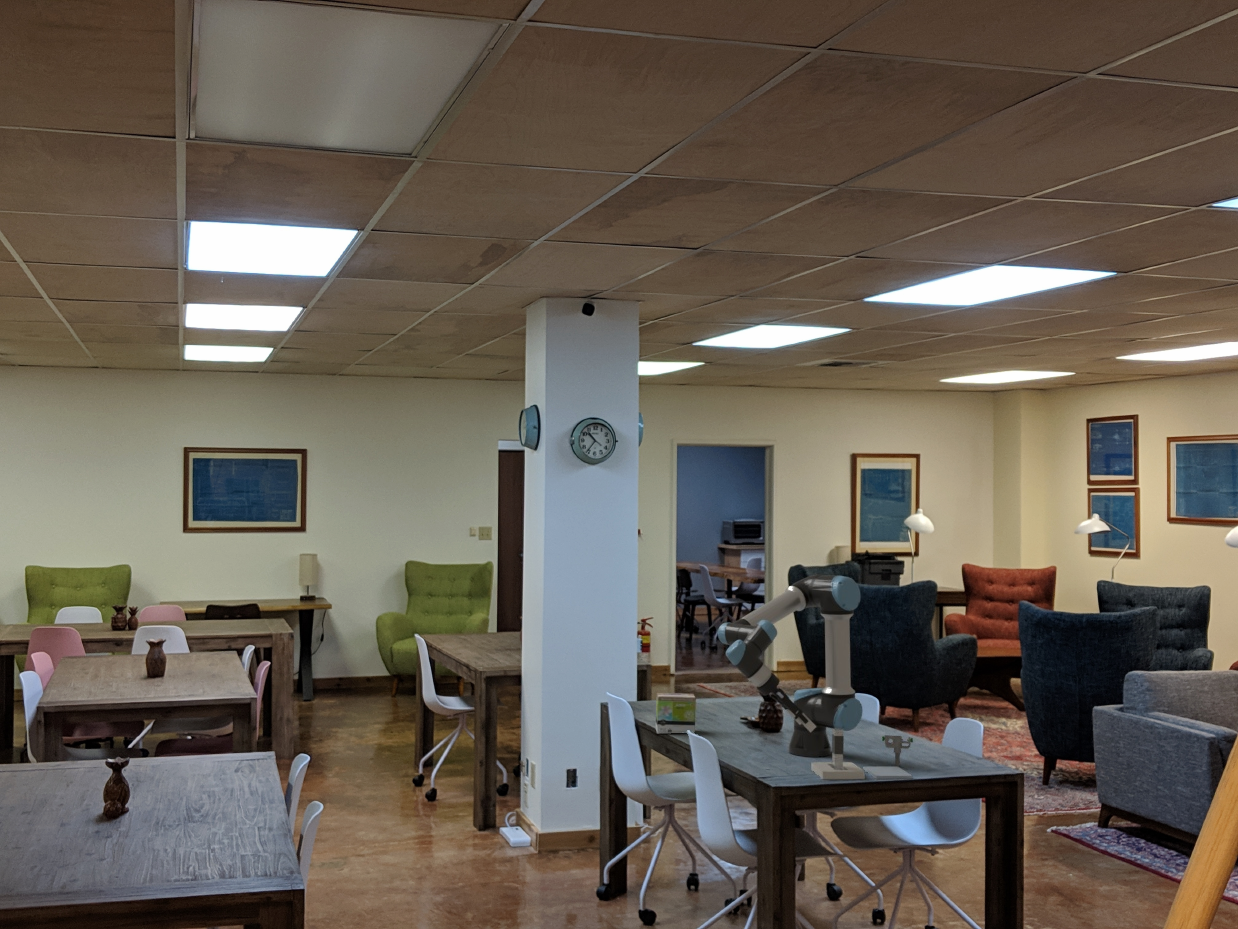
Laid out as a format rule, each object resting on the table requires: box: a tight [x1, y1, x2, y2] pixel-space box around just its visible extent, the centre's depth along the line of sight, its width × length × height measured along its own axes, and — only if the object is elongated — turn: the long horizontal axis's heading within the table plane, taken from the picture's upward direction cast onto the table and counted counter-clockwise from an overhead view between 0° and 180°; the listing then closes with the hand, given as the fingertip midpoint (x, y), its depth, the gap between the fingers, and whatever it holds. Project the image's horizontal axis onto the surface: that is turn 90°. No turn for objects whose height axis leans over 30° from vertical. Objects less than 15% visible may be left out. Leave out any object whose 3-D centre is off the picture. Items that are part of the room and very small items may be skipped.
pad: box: [862, 766, 913, 780], centre depth 386 cm, size 14×12×1 cm
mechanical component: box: [881, 734, 914, 767], centre depth 400 cm, size 3×10×10 cm, turn 78°
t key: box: [830, 728, 845, 770], centre depth 385 cm, size 8×3×15 cm, turn 6°
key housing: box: [810, 761, 866, 780], centre depth 385 cm, size 14×14×2 cm
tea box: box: [655, 692, 697, 734], centre depth 456 cm, size 15×10×15 cm
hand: (807, 725), depth 384 cm, fingers open, 13 cm apart
